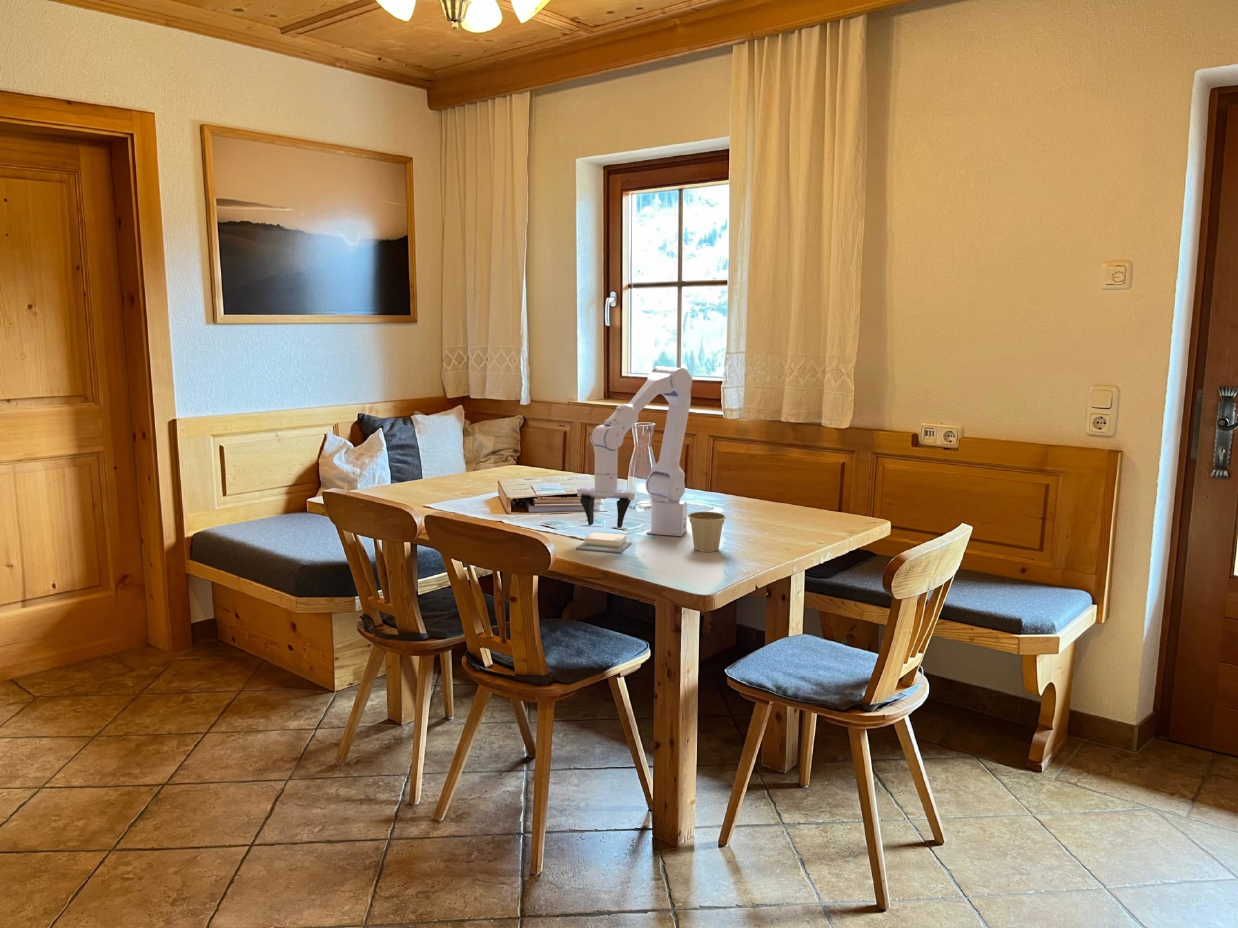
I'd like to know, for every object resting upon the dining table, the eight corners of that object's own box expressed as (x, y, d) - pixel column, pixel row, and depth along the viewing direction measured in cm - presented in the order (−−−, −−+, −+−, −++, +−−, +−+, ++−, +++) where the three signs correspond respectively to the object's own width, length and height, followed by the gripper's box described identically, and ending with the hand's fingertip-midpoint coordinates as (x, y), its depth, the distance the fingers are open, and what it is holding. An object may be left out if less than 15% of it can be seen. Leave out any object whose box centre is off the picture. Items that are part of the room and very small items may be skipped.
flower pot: (698, 555, 226) (699, 521, 225) (680, 546, 235) (681, 513, 233) (731, 552, 230) (733, 518, 228) (713, 543, 238) (714, 510, 237)
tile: (626, 535, 237) (619, 541, 231) (626, 541, 237) (619, 547, 231) (592, 532, 239) (585, 538, 233) (592, 538, 239) (585, 544, 233)
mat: (631, 543, 236) (631, 542, 236) (620, 553, 227) (620, 551, 227) (588, 540, 239) (588, 538, 239) (576, 549, 230) (576, 547, 230)
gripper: (573, 473, 232) (573, 526, 234) (629, 477, 228) (628, 531, 230) (582, 469, 238) (581, 520, 240) (637, 472, 234) (636, 525, 237)
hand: (605, 525), depth 236 cm, fingers open, 7 cm apart
